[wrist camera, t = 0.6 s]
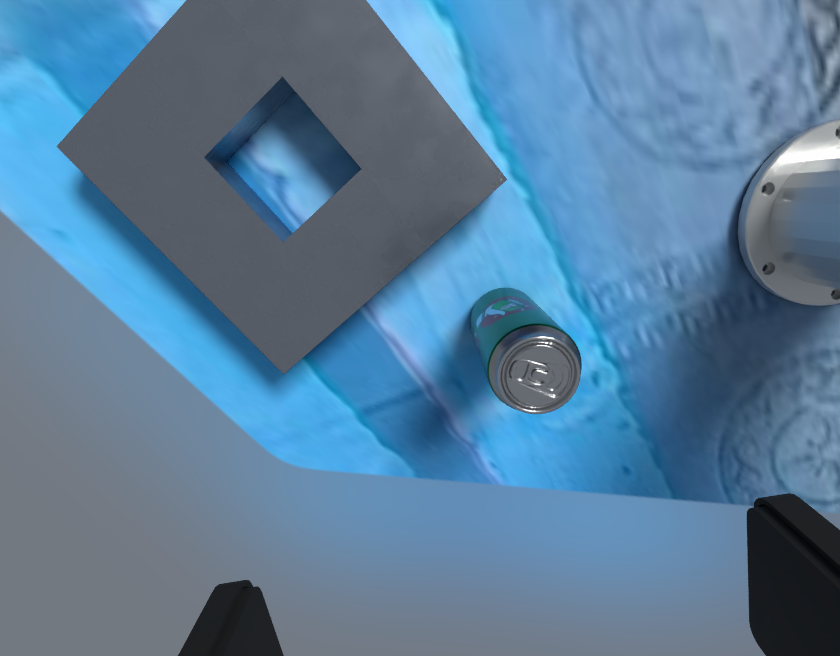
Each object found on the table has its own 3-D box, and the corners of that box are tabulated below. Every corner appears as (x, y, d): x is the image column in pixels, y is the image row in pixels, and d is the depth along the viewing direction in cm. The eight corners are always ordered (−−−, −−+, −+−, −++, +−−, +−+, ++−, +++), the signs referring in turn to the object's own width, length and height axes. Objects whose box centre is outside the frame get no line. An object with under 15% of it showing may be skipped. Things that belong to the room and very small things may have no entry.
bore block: (297, -73, 30) (281, -107, 27) (498, 181, 34) (507, 179, 31) (93, 151, 34) (56, 146, 30) (296, 358, 37) (283, 374, 34)
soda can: (523, 358, 37) (568, 431, 26) (460, 341, 37) (477, 407, 25) (545, 296, 36) (603, 344, 24) (480, 278, 36) (507, 317, 24)
